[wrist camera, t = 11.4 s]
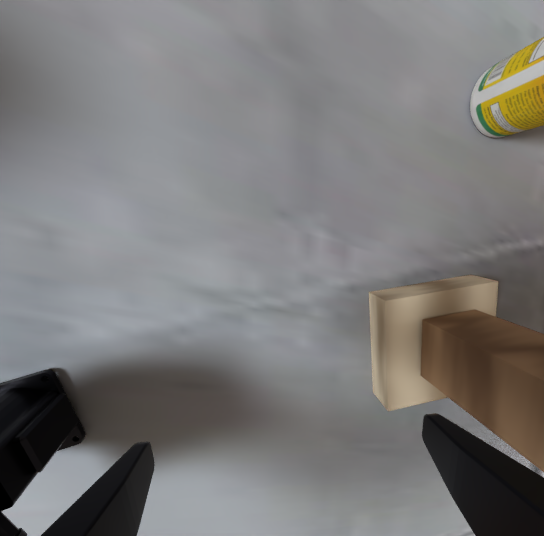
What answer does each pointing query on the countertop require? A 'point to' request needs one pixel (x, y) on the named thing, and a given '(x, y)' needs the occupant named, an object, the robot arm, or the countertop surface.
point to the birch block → (416, 332)
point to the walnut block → (490, 374)
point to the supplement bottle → (511, 94)
